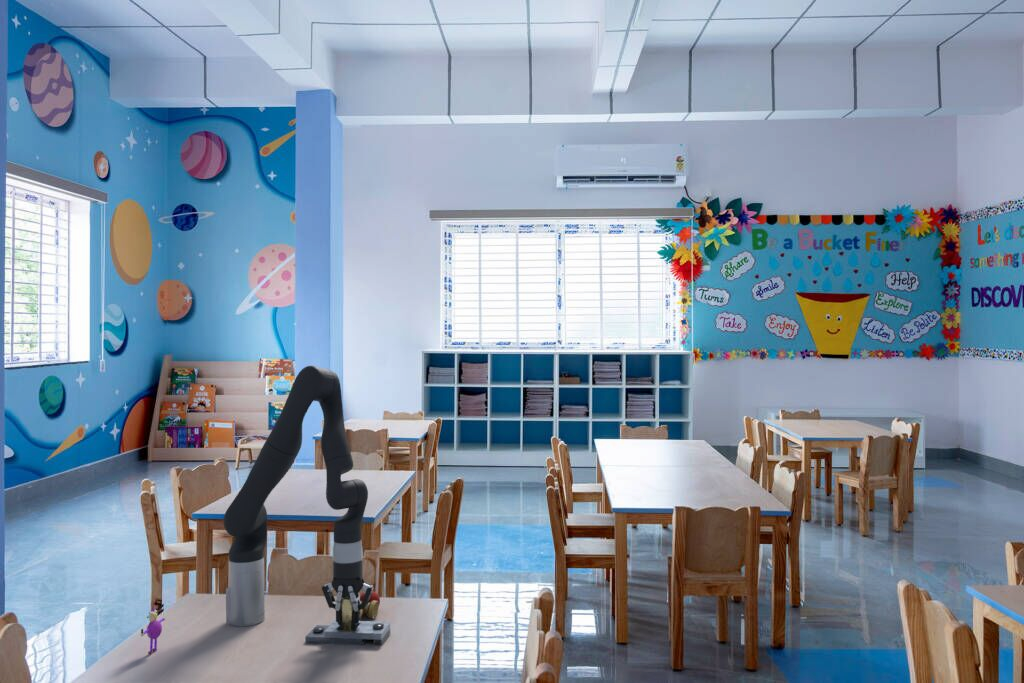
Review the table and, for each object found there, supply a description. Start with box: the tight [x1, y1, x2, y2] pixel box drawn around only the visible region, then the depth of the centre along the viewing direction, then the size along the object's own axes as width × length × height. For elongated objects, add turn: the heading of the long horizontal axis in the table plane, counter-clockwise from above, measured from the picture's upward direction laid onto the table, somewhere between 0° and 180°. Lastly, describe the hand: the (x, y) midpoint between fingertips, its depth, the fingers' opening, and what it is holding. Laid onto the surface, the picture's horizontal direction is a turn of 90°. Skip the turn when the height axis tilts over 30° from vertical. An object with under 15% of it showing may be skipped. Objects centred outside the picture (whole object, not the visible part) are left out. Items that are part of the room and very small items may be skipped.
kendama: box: [360, 590, 381, 619], centre depth 212 cm, size 8×6×18 cm
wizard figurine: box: [140, 603, 166, 655], centre depth 190 cm, size 11×3×12 cm, turn 177°
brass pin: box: [341, 597, 355, 630], centre depth 199 cm, size 3×3×8 cm
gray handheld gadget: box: [305, 619, 391, 646], centre depth 199 cm, size 20×8×4 cm, turn 83°
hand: (348, 623), depth 199 cm, fingers closed on brass pin, 3 cm apart
